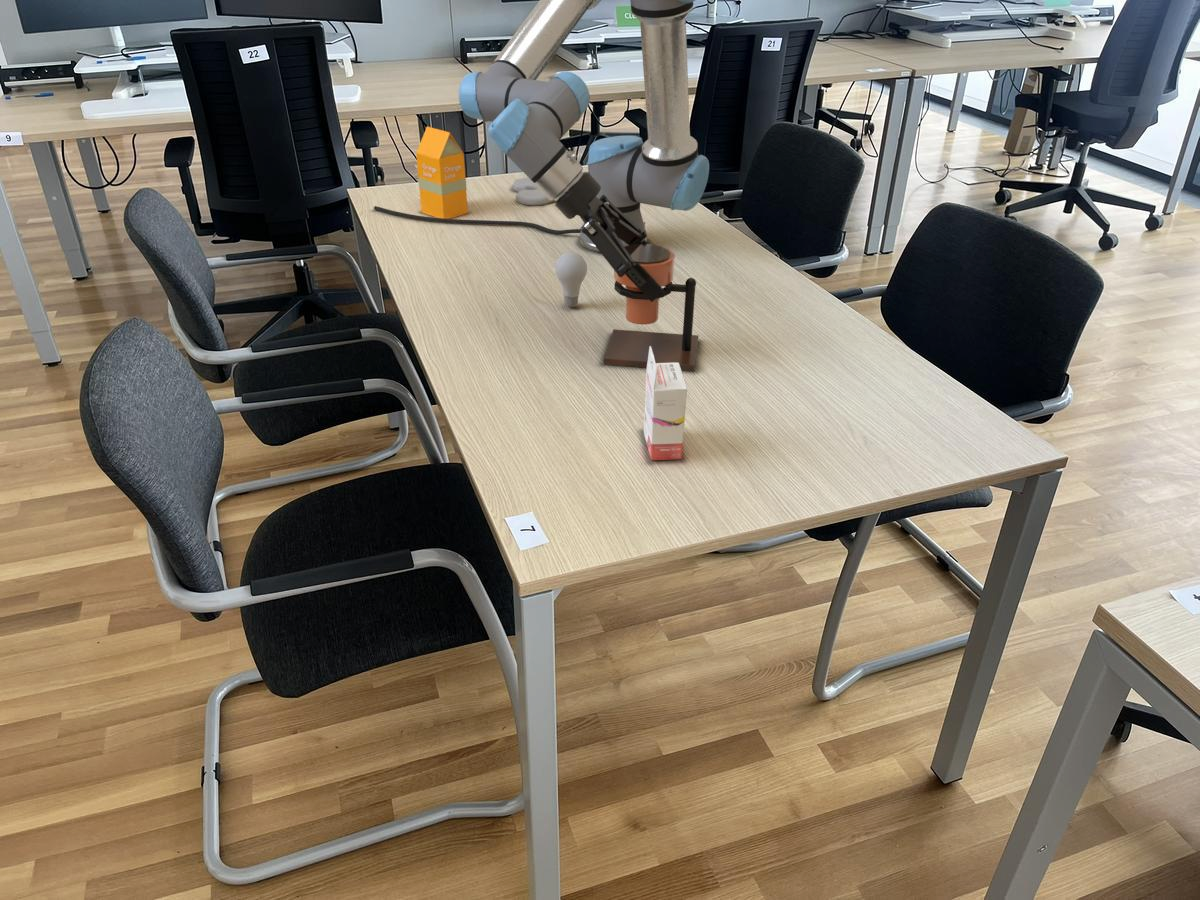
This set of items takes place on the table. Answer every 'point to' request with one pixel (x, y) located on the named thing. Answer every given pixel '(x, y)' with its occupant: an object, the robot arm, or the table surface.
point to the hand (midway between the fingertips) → (661, 284)
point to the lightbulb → (571, 276)
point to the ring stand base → (636, 344)
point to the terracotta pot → (659, 268)
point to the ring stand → (687, 288)
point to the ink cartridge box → (664, 409)
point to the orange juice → (441, 175)
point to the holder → (529, 192)
